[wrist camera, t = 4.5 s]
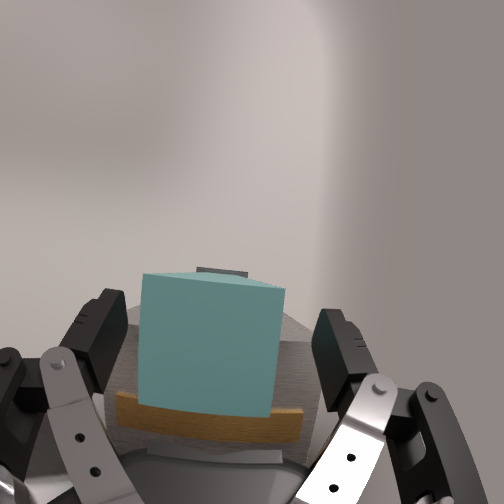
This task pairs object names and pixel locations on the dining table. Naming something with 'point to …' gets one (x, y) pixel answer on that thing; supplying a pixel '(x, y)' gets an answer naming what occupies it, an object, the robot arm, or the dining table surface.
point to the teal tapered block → (208, 343)
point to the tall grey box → (219, 426)
